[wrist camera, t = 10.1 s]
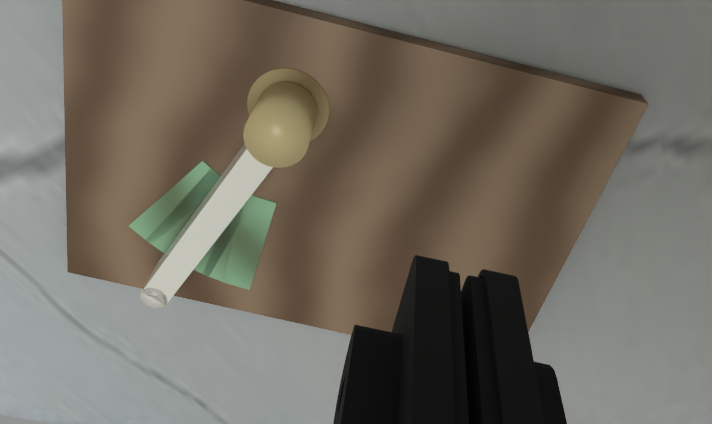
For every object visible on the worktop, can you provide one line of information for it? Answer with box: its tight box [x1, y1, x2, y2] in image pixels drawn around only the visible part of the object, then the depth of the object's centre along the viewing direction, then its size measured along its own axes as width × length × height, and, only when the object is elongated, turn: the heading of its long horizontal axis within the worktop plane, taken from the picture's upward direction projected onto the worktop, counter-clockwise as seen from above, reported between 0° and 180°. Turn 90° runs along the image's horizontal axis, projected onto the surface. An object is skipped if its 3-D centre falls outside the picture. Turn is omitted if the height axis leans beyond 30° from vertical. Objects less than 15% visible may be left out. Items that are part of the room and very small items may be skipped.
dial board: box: [62, 0, 648, 335], centre depth 37 cm, size 30×20×1 cm, turn 77°
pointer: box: [140, 82, 317, 309], centre depth 35 cm, size 16×3×3 cm, turn 143°
